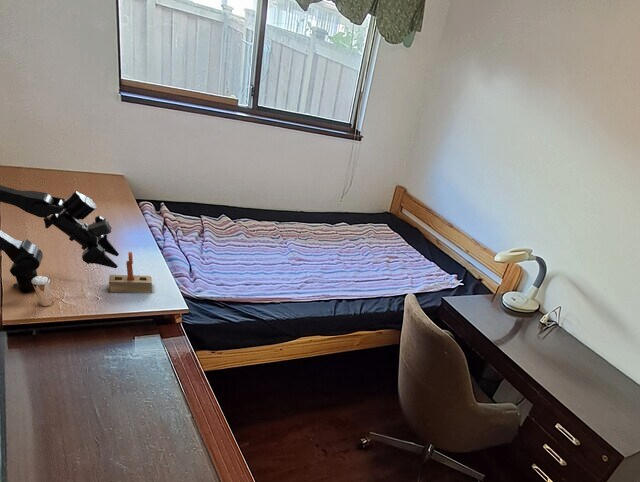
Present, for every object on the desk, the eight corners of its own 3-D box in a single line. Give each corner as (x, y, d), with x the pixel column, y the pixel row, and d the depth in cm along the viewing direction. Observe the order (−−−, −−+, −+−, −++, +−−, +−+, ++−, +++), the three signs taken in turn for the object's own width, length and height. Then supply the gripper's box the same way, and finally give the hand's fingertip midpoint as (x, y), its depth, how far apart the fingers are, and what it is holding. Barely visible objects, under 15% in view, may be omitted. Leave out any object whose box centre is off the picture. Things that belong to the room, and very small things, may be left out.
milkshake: (48, 309, 141) (42, 280, 135) (33, 304, 141) (26, 275, 136) (60, 303, 145) (54, 275, 139) (45, 298, 145) (38, 270, 139)
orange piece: (128, 291, 158) (125, 254, 151) (129, 286, 161) (125, 249, 154) (135, 291, 159) (131, 255, 152) (135, 286, 162) (131, 250, 154)
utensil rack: (111, 284, 159) (109, 274, 157) (152, 285, 165) (151, 275, 163) (110, 292, 156) (108, 282, 153) (152, 292, 161) (151, 282, 159)
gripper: (89, 223, 135) (134, 258, 146) (94, 201, 148) (135, 235, 159) (62, 246, 136) (109, 279, 147) (69, 222, 149) (112, 254, 160)
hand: (117, 261), depth 153 cm, fingers open, 9 cm apart
